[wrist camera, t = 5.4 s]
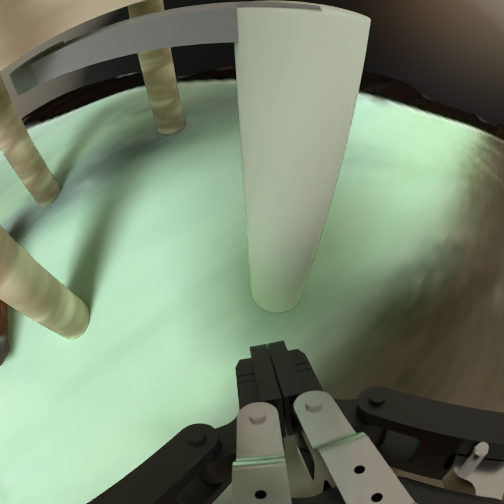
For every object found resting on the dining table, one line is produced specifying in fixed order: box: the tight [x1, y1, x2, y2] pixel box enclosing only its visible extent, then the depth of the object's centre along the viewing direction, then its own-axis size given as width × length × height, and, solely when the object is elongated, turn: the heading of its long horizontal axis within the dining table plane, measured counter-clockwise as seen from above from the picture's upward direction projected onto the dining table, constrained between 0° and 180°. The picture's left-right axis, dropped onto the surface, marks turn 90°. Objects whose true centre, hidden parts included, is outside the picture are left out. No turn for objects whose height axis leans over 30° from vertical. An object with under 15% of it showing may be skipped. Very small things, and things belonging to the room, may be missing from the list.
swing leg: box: [10, 1, 371, 313], centre depth 13 cm, size 13×4×17 cm, turn 80°
